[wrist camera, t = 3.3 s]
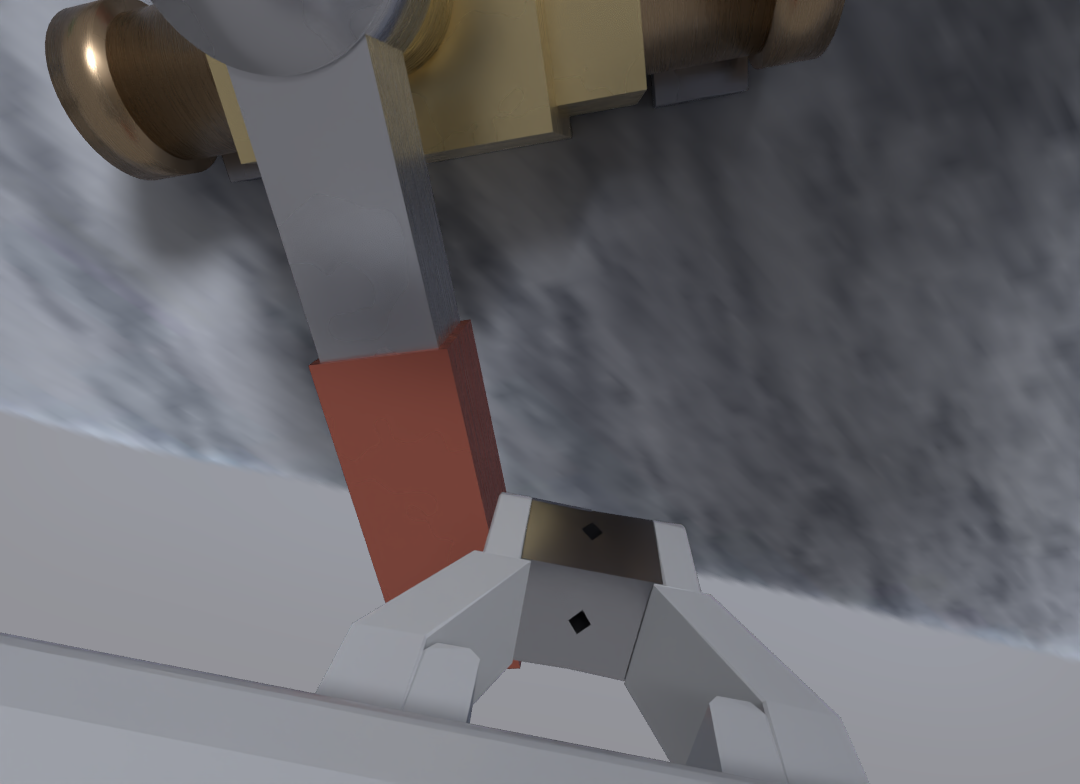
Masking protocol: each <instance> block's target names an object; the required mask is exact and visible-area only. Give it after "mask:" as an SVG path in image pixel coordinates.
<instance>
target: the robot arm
mask: <svg viewBox="0 0 1080 784" xmlns="http://www.w3.org/2000/svg"><path fill="white" fill-rule="evenodd" d="M530 505H531V508H530ZM529 511H530V513H529ZM528 517H529V518H528ZM527 522H528V523H527ZM526 528H527V529H526ZM513 660H517V661H524V662H530V663H536V664H542V665H548V666H555V667H561V668H567V669H568V668H569V669H572V670H577V671H581V672H585V673H590V674H595V675H599V676H603V677H608V678H613V679H617V680H621V681H625V683H624V684H625V686H626V688H627V690H628V691H629V693H630V695H631V696H632V698H633V700H634V701H635V703H636V705H637V706H638V708H639V710H640V712H641V713H642V715H643V717H644V718H645V720H646V722H647V723H648V725H649V726H650V728H651V730H652V732H653V733H654V735H655V737H656V739H657V740H658V742H659V744H660V745H661V747H662V749H663V750H664V752H665V754H666V755H667V757H668V759H669V760H670V762H666V761H661V760H656V759H651V758H645V757H640V756H635V755H630V754H625V753H619V752H615V751H609V750H604V749H599V748H594V747H589V746H583V745H578V744H573V743H567V742H563V741H557V740H552V739H547V738H541V737H537V736H531V735H526V734H521V733H516V732H511V731H505V730H500V729H495V728H489V727H484V726H479V725H474V724H470V718H471V712H472V706H473V704H474V703H475V702H476V701H477V700H478V699H479V698H480V697H481V696H482V695H483V693H484V692H485V691H486V690H487V689H488V688H489V687H490V686H491V685H492V684H493V683H494V682H495V681H496V680H497V679H498V678H499V676H500V675H501V674H502V673H503V672H504V671H505V670H506V669H507V668H508V667H509V666H510V665H511V664H512V661H513ZM0 784H870V783H869V781H868V779H867V776H866V774H865V772H864V769H863V767H862V765H861V763H860V761H859V758H858V756H857V754H856V751H855V749H854V746H853V744H852V742H851V740H850V737H849V735H848V733H847V730H846V728H845V726H844V724H843V722H842V719H841V717H840V716H839V715H838V714H837V713H836V712H834V711H833V710H832V709H831V708H830V707H829V706H828V705H827V704H826V703H825V702H824V701H823V700H822V699H821V698H819V696H818V695H817V694H815V693H814V692H813V691H812V690H811V689H810V688H809V687H808V686H807V685H806V684H805V683H804V682H803V681H802V680H801V679H799V677H798V676H796V675H795V674H794V673H793V672H792V671H791V670H790V669H789V668H788V667H787V666H786V665H785V664H784V663H783V662H782V661H781V660H780V659H778V658H777V657H776V656H775V655H774V654H773V653H772V652H771V651H770V650H769V649H768V648H767V647H766V646H765V645H764V644H763V643H762V642H760V641H759V640H758V639H757V638H756V637H755V636H754V635H753V634H752V633H751V632H750V631H749V630H748V629H747V628H746V627H745V626H744V625H742V624H741V623H740V622H739V621H738V620H737V619H736V618H735V617H734V616H733V615H732V614H731V613H730V612H729V611H728V610H727V609H726V608H725V607H723V606H722V605H721V604H720V603H719V602H718V601H717V600H716V599H715V598H714V597H713V596H712V595H710V594H706V593H701V589H700V585H699V581H698V577H697V573H696V569H695V565H694V561H693V557H692V553H691V549H690V545H689V541H688V537H687V533H686V529H685V527H684V526H683V525H682V524H675V523H668V522H661V521H655V520H646V519H640V518H634V517H628V516H621V515H615V514H609V513H603V512H596V511H592V510H591V509H586V508H581V507H576V506H571V505H566V504H561V503H556V502H552V501H547V500H542V499H537V498H532V503H531V497H528V496H523V495H517V494H511V493H505V492H502V493H501V494H500V495H499V498H498V502H497V505H496V508H495V512H494V515H493V519H492V522H491V526H490V529H489V533H488V536H487V540H486V543H485V547H484V550H483V552H482V551H476V550H474V551H472V552H470V553H469V554H467V555H465V556H464V557H462V558H460V559H459V560H457V561H455V562H454V563H452V564H450V565H449V566H447V567H445V568H444V569H442V570H440V571H439V572H437V573H435V574H434V575H432V576H430V577H429V578H427V579H425V580H424V581H422V582H420V583H419V584H417V585H415V586H414V587H412V588H410V589H409V590H407V591H405V592H404V593H402V594H400V595H399V596H397V597H395V598H394V599H392V600H390V601H389V602H387V603H385V604H384V605H382V606H380V607H379V608H377V609H376V610H374V611H372V612H370V613H369V614H367V615H365V616H364V617H362V618H360V619H359V620H357V621H355V622H354V623H352V625H351V627H350V629H349V631H348V633H347V635H346V636H345V638H344V640H343V642H342V644H341V646H340V648H339V650H338V652H337V654H336V655H335V657H334V659H333V661H332V663H331V665H330V667H329V669H328V671H327V673H326V674H325V676H324V678H323V680H322V682H321V684H320V685H319V687H318V689H317V691H316V693H309V692H304V691H299V690H294V689H288V688H284V687H278V686H273V685H268V684H263V683H258V682H252V681H248V680H242V679H237V678H232V677H227V676H222V675H217V674H212V673H206V672H201V671H196V670H191V669H186V668H181V667H176V666H170V665H165V664H159V663H155V662H150V661H145V660H140V659H134V658H128V657H124V656H119V655H114V654H108V653H103V652H98V651H93V650H88V649H83V648H77V647H72V646H67V645H62V644H57V643H52V642H47V641H42V640H36V639H31V638H26V637H21V636H16V635H11V634H6V633H0Z"/></svg>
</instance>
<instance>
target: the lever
mask: <svg viewBox="0 0 1080 784" xmlns="http://www.w3.org/2000/svg"><path fill="white" fill-rule="evenodd" d="M151 1H152V3H153V4H154V5H155V6H156V8H157V9H158V10H159V12H160V13H161V14H162V15H163V17H164V18H165V19H166V20H167V21H168V22H169V23H170V24H171V25H172V26H173V27H174V28H175V29H176V30H177V31H178V32H179V33H180V34H181V35H182V36H183V37H184V38H185V39H187V40H188V41H189V42H190V43H191V44H193V45H194V46H195V47H197V48H198V49H200V50H201V51H203V52H204V53H206V54H207V55H209V56H210V57H212V58H214V59H216V60H218V61H220V62H222V63H224V64H226V66H227V69H228V72H229V75H230V79H231V82H232V85H233V88H234V91H235V94H236V98H237V101H238V104H239V107H240V110H241V113H242V117H243V120H244V123H245V126H246V129H247V132H248V136H249V139H250V142H251V145H252V148H253V151H254V154H255V158H256V161H257V164H258V167H259V170H260V173H261V177H262V180H263V183H264V186H265V189H266V192H267V196H268V199H269V202H270V205H271V208H272V211H273V215H274V218H275V221H276V224H277V227H278V230H279V234H280V237H281V240H282V243H283V246H284V249H285V252H286V256H287V259H288V262H289V265H290V268H291V271H292V275H293V278H294V281H295V284H296V287H297V290H298V294H299V297H300V300H301V303H302V306H303V309H304V313H305V316H306V319H307V322H308V325H309V328H310V332H311V335H312V338H313V341H314V344H315V347H316V351H317V354H318V357H319V358H318V359H317V360H315V361H314V362H313V363H311V364H310V365H309V369H310V372H311V375H312V378H313V381H314V384H315V387H316V390H317V393H318V397H319V400H320V403H321V406H322V409H323V412H324V415H325V418H326V421H327V424H328V427H329V430H330V433H331V437H332V440H333V443H334V446H335V449H336V452H337V455H338V458H339V461H340V464H341V467H342V470H343V473H344V477H345V480H346V483H347V486H348V489H349V492H350V495H351V498H352V501H353V504H354V507H355V510H356V513H357V517H358V519H359V522H360V526H361V529H362V532H363V535H364V538H365V541H366V544H367V547H368V550H369V553H370V556H371V560H372V563H373V566H374V569H375V572H376V575H377V578H378V581H379V584H380V587H381V590H382V593H383V596H384V600H385V603H387V602H389V601H390V600H392V599H394V598H395V597H397V596H399V595H400V594H402V593H404V592H405V591H407V590H409V589H410V588H412V587H414V586H415V585H417V584H419V583H420V582H422V581H424V580H425V579H427V578H429V577H430V576H432V575H434V574H435V573H437V572H439V571H440V570H442V569H444V568H445V567H447V566H449V565H450V564H452V563H454V562H455V561H457V560H459V559H460V558H462V557H464V556H465V555H467V554H469V553H470V552H472V551H474V550H476V551H482V552H483V550H484V547H485V543H486V540H487V536H488V533H489V529H490V526H491V522H492V519H493V515H494V512H495V508H496V505H497V502H498V498H499V495H500V494H501V493H502V492H505V493H506V488H505V483H504V478H503V473H502V469H501V464H500V459H499V454H498V449H497V445H496V440H495V435H494V430H493V425H492V421H491V416H490V411H489V406H488V401H487V397H486V392H485V387H484V382H483V377H482V373H481V368H480V363H479V358H478V353H477V349H476V344H475V339H474V334H473V329H472V325H471V320H463V321H460V317H459V313H458V308H457V303H456V299H455V294H454V289H453V285H452V280H451V275H450V271H449V266H448V261H447V257H446V252H445V247H444V243H443V238H442V233H441V229H440V224H439V220H438V215H437V210H436V206H435V201H434V196H433V192H432V187H431V182H430V178H429V173H428V168H427V164H426V159H425V154H424V150H423V145H422V141H421V136H420V131H419V127H418V122H417V117H416V113H415V108H414V103H413V99H412V94H411V89H410V85H409V80H408V75H407V71H406V66H405V62H404V57H403V53H404V52H405V50H406V49H407V48H408V47H409V45H410V44H411V42H412V41H413V39H414V38H415V36H416V34H417V33H418V31H419V29H420V27H421V25H422V22H423V20H424V18H425V16H426V13H427V10H428V7H429V3H430V0H151ZM520 666H521V661H517V660H513V661H512V664H511V665H510V666H509V667H508V668H507V669H516V668H520Z"/></svg>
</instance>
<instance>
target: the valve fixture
mask: <svg viewBox="0 0 1080 784" xmlns="http://www.w3.org/2000/svg"><path fill="white" fill-rule="evenodd" d="M844 3H845V0H430V3H429V7H428V10H427V13H426V16H425V18H424V20H423V22H422V25H421V27H420V29H419V31H418V33H417V34H416V36H415V38H414V39H413V41H412V42H411V44H410V45H409V47H408V48H407V49H406V50H405V52H404V53H403V57H404V62H405V66H406V71H407V75H408V80H409V85H410V89H411V94H412V99H413V103H414V108H415V113H416V117H417V122H418V127H419V131H420V136H421V141H422V145H423V150H424V154H425V159H426V163H431V162H437V161H443V160H449V159H454V158H460V157H466V156H471V155H477V154H483V153H489V152H494V151H500V150H506V149H511V148H517V147H523V146H529V145H534V144H540V143H546V142H551V141H557V140H563V139H569V138H572V133H571V125H570V117H569V116H575V115H580V114H586V113H591V112H597V111H602V110H608V109H613V108H619V107H625V106H630V105H636V104H637V103H638V102H639V100H640V99H641V97H642V96H643V94H644V93H645V91H646V90H647V83H646V75H649V74H651V82H652V95H653V108H657V107H663V106H669V105H674V104H680V103H685V102H691V101H697V100H702V99H708V98H713V97H719V96H724V95H730V94H736V93H741V92H743V91H746V90H748V59H749V61H750V63H751V65H752V66H753V67H754V68H755V69H761V68H767V67H772V66H777V65H783V64H788V63H794V62H799V61H805V60H810V59H815V58H818V57H819V56H821V55H822V54H823V53H824V52H825V50H826V49H827V47H828V46H829V44H830V42H831V40H832V38H833V36H834V34H835V31H836V29H837V26H838V23H839V20H840V17H841V14H842V10H843V6H844ZM45 54H46V61H47V67H48V71H49V74H50V78H51V81H52V84H53V86H54V89H55V92H56V94H57V96H58V98H59V100H60V102H61V105H62V106H63V108H64V110H65V112H66V113H67V115H68V117H69V118H70V120H71V121H72V123H73V124H74V126H75V127H76V129H77V130H78V131H79V133H80V134H81V135H82V136H83V138H84V139H85V140H86V141H87V142H88V143H89V144H90V146H91V147H92V148H93V149H94V150H95V151H96V152H97V153H98V154H100V155H101V156H102V157H103V158H104V159H105V160H107V161H108V162H109V163H110V164H112V165H113V166H115V167H116V168H118V169H119V170H121V171H123V172H125V173H127V174H129V175H131V176H133V177H136V178H139V179H144V180H159V179H165V178H170V177H176V176H181V175H186V174H192V173H197V172H202V171H204V170H206V169H208V168H209V167H210V166H211V165H212V164H213V163H214V161H215V160H216V158H217V156H219V155H222V158H223V161H224V164H225V167H226V170H227V173H228V176H229V179H230V182H240V181H250V180H255V179H261V178H262V177H261V173H260V170H259V167H258V164H257V161H256V158H255V154H254V151H253V148H252V145H251V142H250V139H249V136H248V132H247V129H246V126H245V123H244V120H243V117H242V113H241V110H240V107H239V104H238V101H237V98H236V94H235V91H234V88H233V85H232V82H231V79H230V75H229V72H228V69H227V66H226V64H224V63H222V62H220V61H218V60H216V59H214V58H212V57H210V56H209V55H207V54H206V53H204V52H203V51H201V50H200V49H198V48H197V47H195V46H194V45H193V44H191V43H190V42H189V41H188V40H187V39H185V38H184V37H183V36H182V35H181V34H180V33H179V32H178V31H177V30H176V29H175V28H174V27H173V26H172V25H171V24H170V23H169V22H168V21H167V20H166V19H165V18H164V17H163V15H162V14H161V13H160V12H159V10H158V9H157V8H156V6H155V5H150V6H149V5H147V4H145V3H143V2H142V1H139V0H98V1H94V2H90V3H86V4H82V5H78V6H74V7H70V8H65V9H63V10H61V11H60V12H58V13H57V14H56V15H55V16H54V17H53V18H52V20H51V22H50V24H49V26H48V29H47V32H46V40H45Z"/></svg>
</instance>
